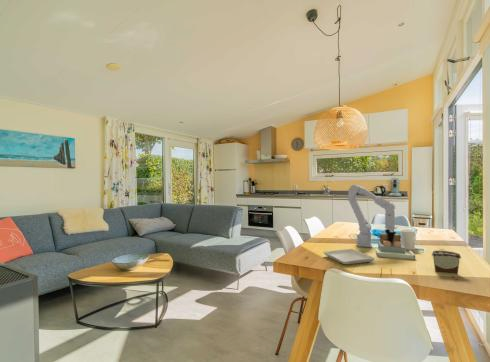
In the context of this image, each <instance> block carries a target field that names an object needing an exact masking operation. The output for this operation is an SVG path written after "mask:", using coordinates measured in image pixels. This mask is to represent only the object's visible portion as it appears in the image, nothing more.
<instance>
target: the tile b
mask: <svg viewBox="0 0 490 362" xmlns="http://www.w3.org/2000/svg"><path fill="white" fill-rule="evenodd" d="M393 246H395V247H401V242H398V241H393Z"/></svg>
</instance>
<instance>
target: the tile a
mask: <svg viewBox="0 0 490 362" xmlns="http://www.w3.org/2000/svg"><path fill="white" fill-rule="evenodd" d="M383 245H384V246H391V242H390V241H383Z"/></svg>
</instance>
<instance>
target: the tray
mask: <svg viewBox="0 0 490 362" xmlns="http://www.w3.org/2000/svg"><path fill="white" fill-rule="evenodd" d="M375 254H376V256H377V257H378V258H388V259H389V258H391V259H401V260H413V261H415V260H416V255H415V253H414V252H413V250H409V251H408V252H405V253H396V252H383V251H380V250H379V248H378V247H376V248H375Z"/></svg>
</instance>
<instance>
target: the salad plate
mask: <svg viewBox="0 0 490 362" xmlns="http://www.w3.org/2000/svg"><path fill="white" fill-rule="evenodd" d="M323 255H325V256H327V257H328V258H330V259H331V260H332V259H333V260H334V261H336V262H339V263H341V264H342V265H356V264H364V263H370V262H373V261H374V260H375V257H374V256H371V255H368V254H366V253H363V252H361V251H359V250H357V249H356V250H355V249H353V248H347V249H346V248H345V249H338V250H337V249H336V250H329V251H328V250H327V251H323Z"/></svg>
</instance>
